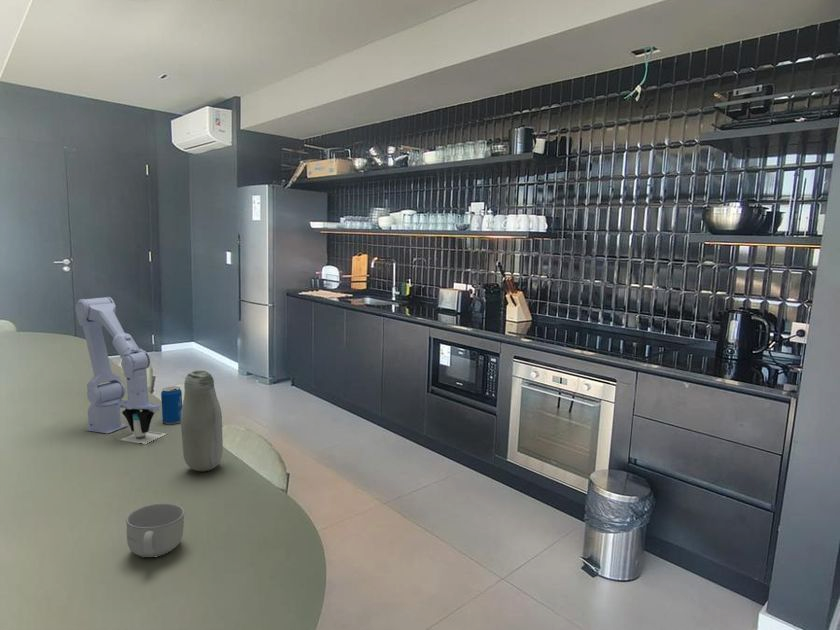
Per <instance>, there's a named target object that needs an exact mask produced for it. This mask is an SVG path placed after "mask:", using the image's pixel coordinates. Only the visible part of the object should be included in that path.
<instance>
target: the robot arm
mask: <svg viewBox="0 0 840 630" xmlns="http://www.w3.org/2000/svg"><path fill="white" fill-rule="evenodd" d="M116 312H117V307H116V303H115V301H114V300H113V298H112V297H111V296H105V297H95V298H80V299H79V300H77V302H76V306H75V313H76V317H77V318H76V319H77V321H78V324H79V326H81V327H82V329H83V333H84V337H85V342H86V345H87V350H88V354H89V355H88V356H89V359H90V364H91V367H92V372H93V377H91V379H90V380H89V381H88V382H87V384H86V387H87V393H86V394H87V395H86V397H87V399H88V401H89V403H90V405H89V407H88V409H87V421H88V428H86V431H89V432H96V433H102V434H111V433H113V432H115V431H119V430H121V429H123V428H125V427H126V428H127V427H128V425H129V427H130V430H131V432H133V433H134V425H133V416H132V414H133V413H136V412H138V413H137V416H138V418H139V420H140V424H141V431H142V433H145V432H148V431H150V430H149V429H150V427H151V421H152V419H153V417H154V415H155V413H157V412H159V411H160V410H161V409H160V404H157V403H153V402H150V401H149V391H148V390H149V389H148V374H147V372H148V371H147V369H148V368H149V367H150V366H151V357H150V356H149V354H148V351H146V350H143V349H142V348H140V347H139V346H138V345H137V343H136V342H135V340H134V338H133V336H132V335H131V334H129V333H127V332H125V331H124V329H123V327H122V325H121V323H120V321H119V319H118V317H117V315H116ZM102 327H104V328H105V329H106V330H107V332H108V333H109V334H110V336H111V337H112V338H113V339H112V342H111V343H112V346H113V347H114V349H115V350H116V351H117V353H118V355H119V357H120V358H121V362H120V365H121V367H122V368H121V369H122V370H123V375H124V377H125V378H126V387H125V385H124V383H123V382H122V379H121V376H119V375H117V373H116V374H115V373H113V372H112V367H111V364H110V360H109V354H108V349H107V346H106V342H105V337H104V334H103V330H102ZM126 389H127V391H126ZM126 394H127V400H123V398H124V397H125V395H126ZM123 408H125V409H124V410H122V411H121V409H123ZM121 413H122V415H123V416H124V417H125V420H126V421H127V423H128V424H127V423H126V424H125V423H122V415H121Z"/></svg>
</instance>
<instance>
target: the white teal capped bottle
mask: <svg viewBox="0 0 840 630" xmlns="http://www.w3.org/2000/svg"><path fill="white" fill-rule="evenodd" d="M137 413H138V412H136V413H133V414H132V416H133V425H134V432H133V434H134V436H136V439H143V438H145V437H146V434H147V432H145V433H142V431H141V424H140V420H139V418H138V416H137Z"/></svg>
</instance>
